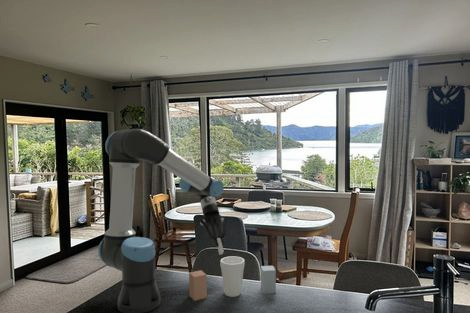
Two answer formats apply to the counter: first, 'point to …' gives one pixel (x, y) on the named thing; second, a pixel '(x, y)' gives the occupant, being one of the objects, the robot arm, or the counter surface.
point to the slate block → (268, 279)
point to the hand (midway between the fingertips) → (221, 252)
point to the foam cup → (232, 274)
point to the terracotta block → (197, 285)
